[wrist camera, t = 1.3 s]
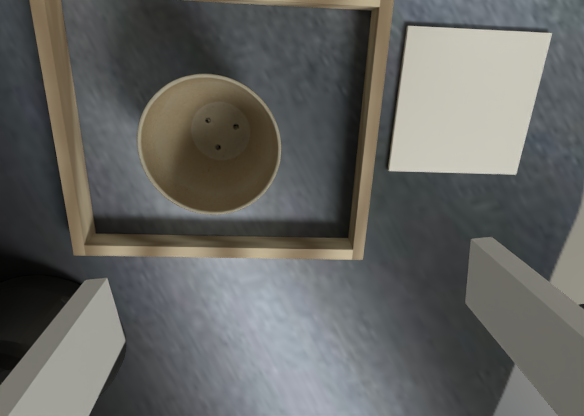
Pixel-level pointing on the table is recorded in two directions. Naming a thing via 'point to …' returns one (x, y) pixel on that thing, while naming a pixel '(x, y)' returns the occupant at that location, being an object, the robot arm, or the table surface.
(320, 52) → the table surface
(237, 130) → the flower pot
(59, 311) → the robot arm
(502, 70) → the mat
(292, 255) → the wooden frame
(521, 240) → the table surface
